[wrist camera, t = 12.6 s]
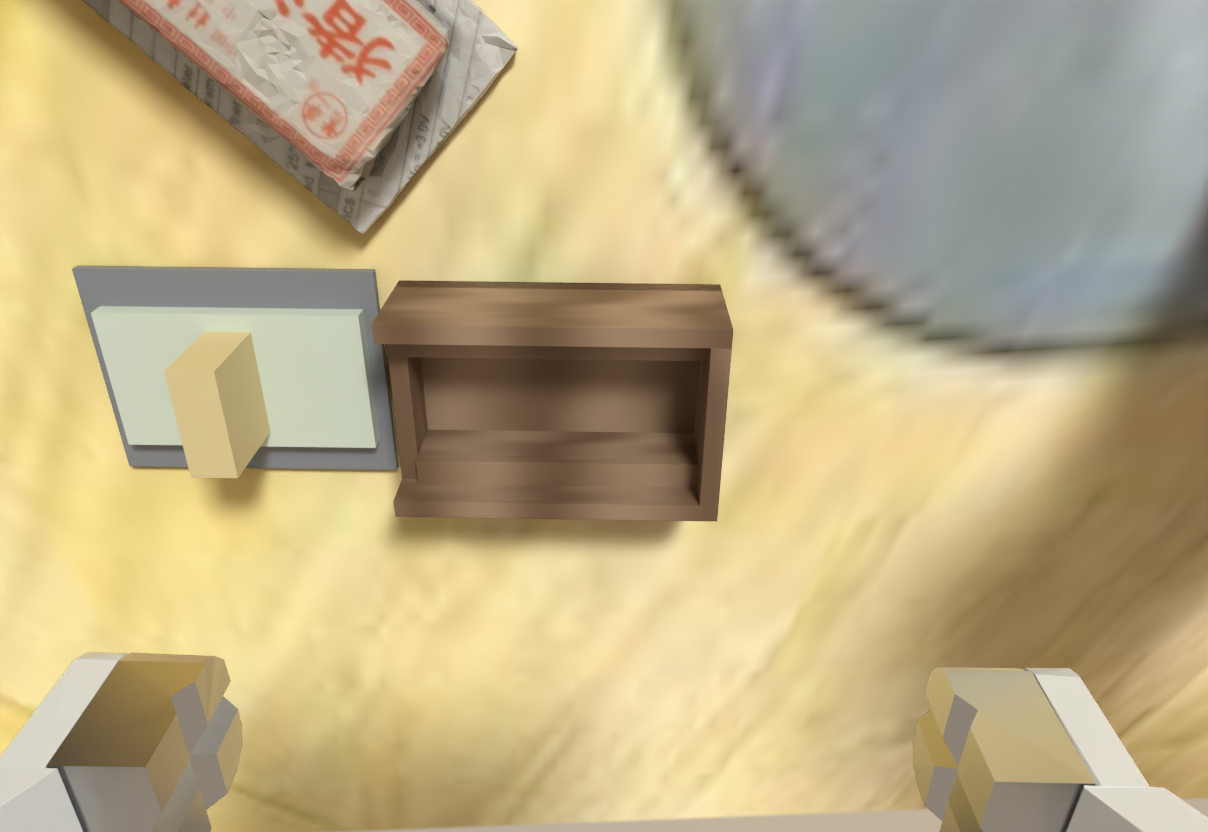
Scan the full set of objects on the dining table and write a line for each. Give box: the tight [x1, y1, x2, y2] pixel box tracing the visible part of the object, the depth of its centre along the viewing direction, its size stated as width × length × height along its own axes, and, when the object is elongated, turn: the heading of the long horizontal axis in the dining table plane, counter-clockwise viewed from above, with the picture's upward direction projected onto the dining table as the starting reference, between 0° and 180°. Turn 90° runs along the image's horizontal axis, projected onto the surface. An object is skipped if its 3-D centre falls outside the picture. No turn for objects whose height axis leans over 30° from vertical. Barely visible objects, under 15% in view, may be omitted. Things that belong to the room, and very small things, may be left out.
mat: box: [72, 266, 399, 470], centre depth 41 cm, size 13×10×1 cm
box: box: [371, 281, 733, 521], centre depth 38 cm, size 14×9×5 cm, turn 90°
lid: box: [91, 306, 380, 478], centre depth 38 cm, size 12×7×5 cm, turn 90°
